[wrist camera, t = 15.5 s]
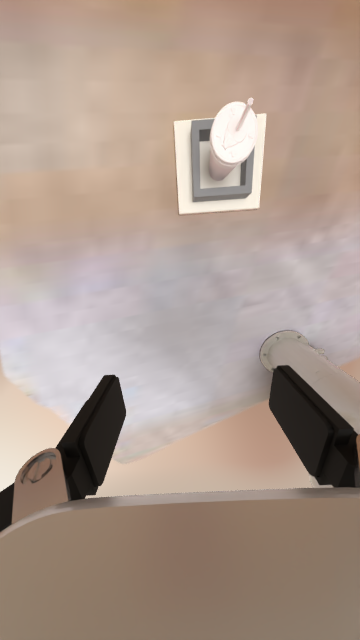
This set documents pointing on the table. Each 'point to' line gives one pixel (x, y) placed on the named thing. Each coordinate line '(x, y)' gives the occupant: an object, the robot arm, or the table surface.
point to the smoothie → (232, 138)
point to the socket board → (196, 181)
